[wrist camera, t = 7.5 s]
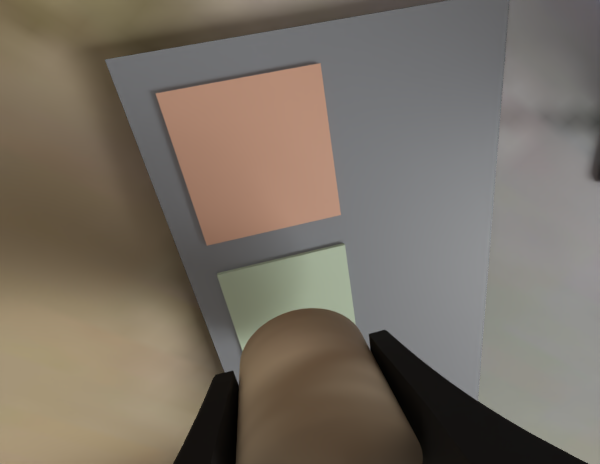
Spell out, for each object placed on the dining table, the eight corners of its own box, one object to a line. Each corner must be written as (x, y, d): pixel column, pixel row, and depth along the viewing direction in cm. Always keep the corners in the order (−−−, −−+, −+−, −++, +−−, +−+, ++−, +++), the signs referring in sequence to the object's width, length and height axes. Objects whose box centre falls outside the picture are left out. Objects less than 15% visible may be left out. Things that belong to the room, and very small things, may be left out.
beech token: (368, 299, 10) (434, 398, 7) (362, 397, 12) (412, 517, 8) (231, 317, 10) (220, 438, 6) (246, 417, 11) (245, 558, 8)
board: (484, 2, 11) (514, -13, 10) (464, 393, 20) (479, 412, 18) (120, 66, 10) (102, 58, 9) (262, 452, 18) (263, 477, 17)
